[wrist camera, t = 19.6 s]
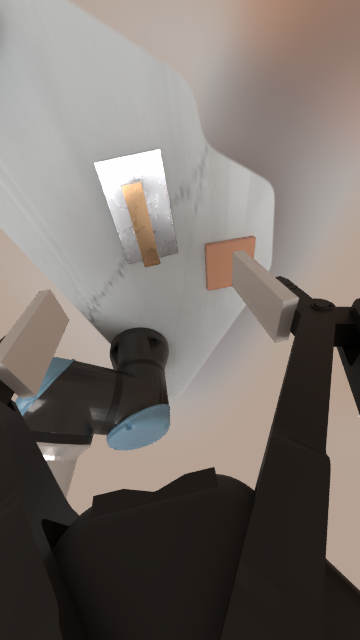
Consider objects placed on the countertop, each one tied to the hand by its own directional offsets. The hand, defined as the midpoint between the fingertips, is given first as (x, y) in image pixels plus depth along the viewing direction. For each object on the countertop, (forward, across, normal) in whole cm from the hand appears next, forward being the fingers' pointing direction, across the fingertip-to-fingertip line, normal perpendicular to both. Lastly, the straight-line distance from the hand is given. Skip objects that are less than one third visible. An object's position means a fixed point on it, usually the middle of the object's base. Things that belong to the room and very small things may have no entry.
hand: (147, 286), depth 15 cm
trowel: (+27, 0, 0) cm, 27 cm away
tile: (+26, -16, +8) cm, 31 cm away
